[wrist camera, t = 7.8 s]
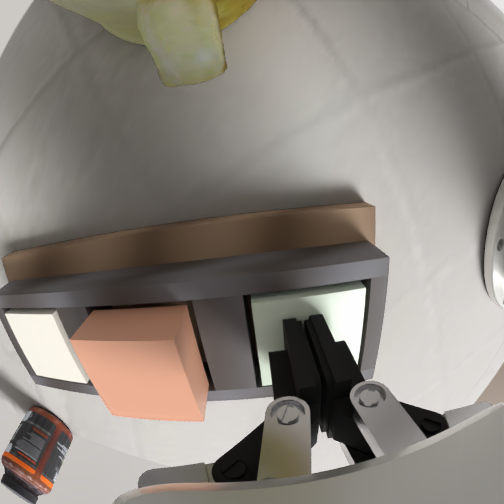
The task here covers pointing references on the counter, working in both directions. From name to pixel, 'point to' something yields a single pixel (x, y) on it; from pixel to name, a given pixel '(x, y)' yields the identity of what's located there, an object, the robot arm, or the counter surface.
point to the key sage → (301, 307)
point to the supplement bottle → (35, 454)
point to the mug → (169, 32)
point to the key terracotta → (144, 362)
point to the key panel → (206, 281)
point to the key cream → (46, 343)
